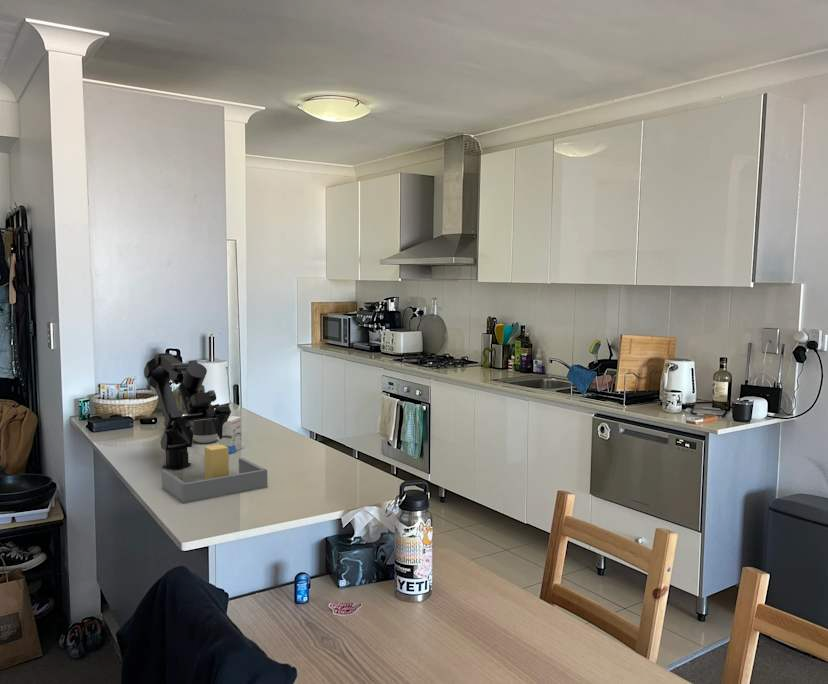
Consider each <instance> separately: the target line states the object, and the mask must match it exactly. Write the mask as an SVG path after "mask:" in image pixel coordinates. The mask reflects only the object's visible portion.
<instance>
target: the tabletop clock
mask: <svg viewBox="0 0 828 684" xmlns="http://www.w3.org/2000/svg"><path fill="white" fill-rule="evenodd" d="M199 391H200V393H206V390H205V385H203V384H202V386H201V387H199ZM178 392H179V390H178V387H176V388H175V389H173V390H172V393H173V396H174V399H175V402H176V405H177V408H178V411H182V414H183V415H186V411H185V410H183V402H182V399H181V396H179V395H178ZM188 423H189V425H190V428H192V421H188Z"/></svg>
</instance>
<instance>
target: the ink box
mask: <svg viewBox="0 0 828 684" xmlns="http://www.w3.org/2000/svg"><path fill="white" fill-rule="evenodd" d="M220 444H222V445H224V446H226V447H228V455H229V454H231V455H232V454H233V453H235V452H237V451H240V450H241V449H242V417H241V416H233V415H230V416H229V418H228V420H227V422H225V423H224V424H223V430H222V439H220V438H219V437H218V445H220Z"/></svg>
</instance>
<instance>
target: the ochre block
mask: <svg viewBox="0 0 828 684" xmlns="http://www.w3.org/2000/svg"><path fill="white" fill-rule="evenodd" d="M203 447H204V450H203V451H204V480H206V479H212V478H217V477H223V476H229V475H230V473H229V469H230V468H229V463H230V462H229V453H228V447H226V446H224V445H222V444H220V445H219V444H214V445H209V446H208V445H207V446H203Z"/></svg>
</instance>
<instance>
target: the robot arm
mask: <svg viewBox="0 0 828 684" xmlns="http://www.w3.org/2000/svg"><path fill="white" fill-rule="evenodd" d="M207 372H208V370H207V367H205V366H204V365H203V364H202V363H198V360H190V361H189V362H182V361H180V360H179V359H178V358H176V357H175V356H174V355H173V354H172V353H170V352H164V353H162V352H161V353H157V354H155V355H154V357H153V358H152V359H150V360H149V361H147V362H146V363H145V367H144V369H143V374H144V375H143V376H144V378H145V379H146V381H147V384H148V385H149V386H150V387H152V388H153V389H154V390H155V392H156V395H157V399H158V401H159V405H160V409H161V410H162V413H163V417H164V421H163V423H164V424H163V425H164V429H163V434H162V437H161V440H160V448H161V449H162V450H163V451H165V464H163V465H162V468H164V469H173V470H180V469H183V468H186V467H188V466H192V463H191V462H189V451H188V448H192V447H193V441H194V438H193V432H192V429H191V428H192V427H191V428H190V425H189V423H188V421H198V420H206V419H213V422H214V427H215V429H216V432H217V435H218V437H217V438H218V439H219V438H220V439H222V430H223V424H224V423H225V422H227V420H228V418H229V416H231V413H232V411H231V408H230V406H229V405H219V406H218V407H216V408H215V410H214V412H207V411H206V410H208V409H209V404H212V403H214V402H215V401H217V395H216V392H215V389H212V390H210V389H209V390H207V392H206V391H205V393H200V391H199V387H201V386H202V385H203V383H204V380H205V378H206V376H207ZM170 382H172V383H173V384H179V385H178V387H177V388H178V390H179V392H178V395H179V396H181V399H182V402H183V410H185V411H186V415H183V414H182V411H178V408H177V405H176V402H175V399H174V396H173V393H172V392H173V390H172V387H171V384H170Z"/></svg>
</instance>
